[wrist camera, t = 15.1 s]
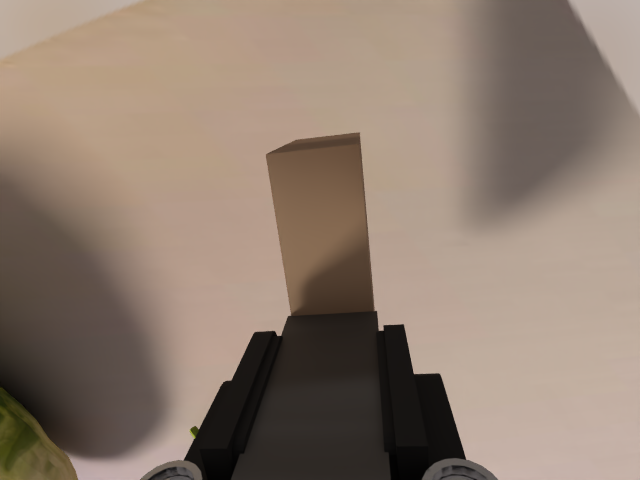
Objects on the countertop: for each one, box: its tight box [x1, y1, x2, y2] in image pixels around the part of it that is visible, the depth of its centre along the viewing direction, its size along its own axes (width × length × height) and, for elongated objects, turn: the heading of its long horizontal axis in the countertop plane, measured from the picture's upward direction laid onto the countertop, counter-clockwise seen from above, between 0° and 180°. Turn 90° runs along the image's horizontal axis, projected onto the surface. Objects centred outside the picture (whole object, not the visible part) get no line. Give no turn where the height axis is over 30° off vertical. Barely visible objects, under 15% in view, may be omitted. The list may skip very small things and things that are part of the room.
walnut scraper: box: [231, 132, 391, 480], centre depth 11 cm, size 12×3×11 cm, turn 7°
